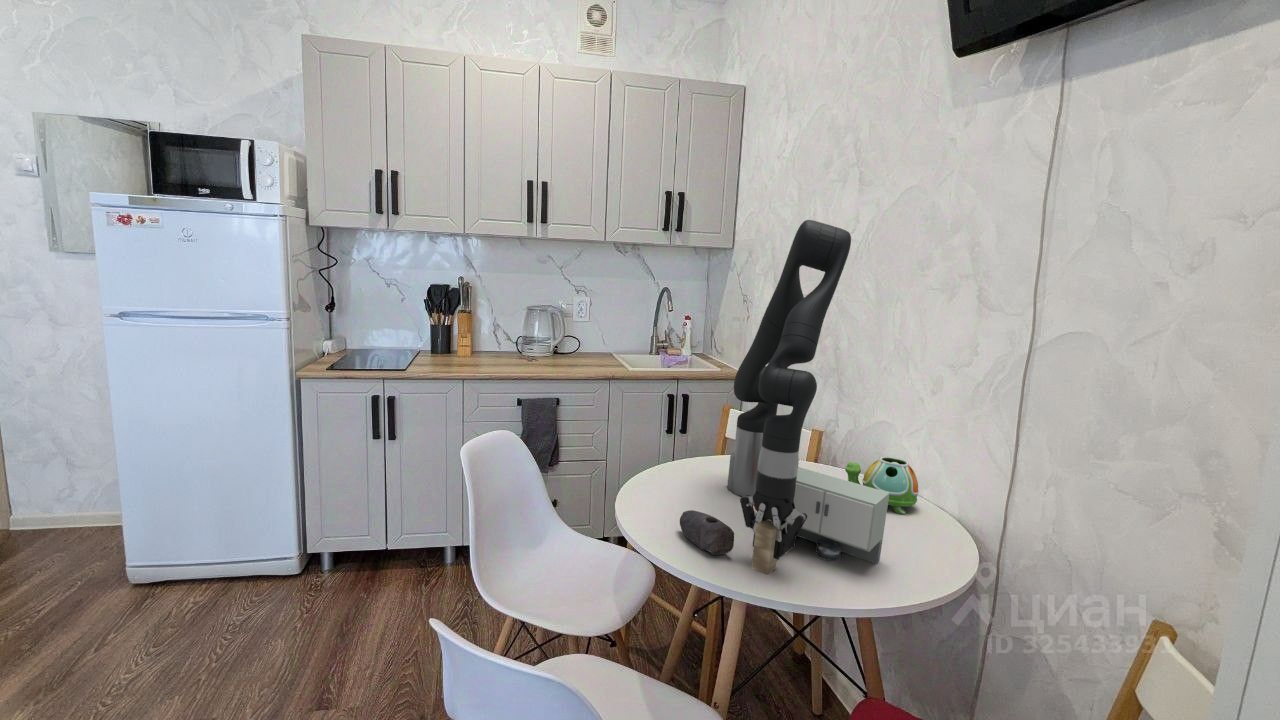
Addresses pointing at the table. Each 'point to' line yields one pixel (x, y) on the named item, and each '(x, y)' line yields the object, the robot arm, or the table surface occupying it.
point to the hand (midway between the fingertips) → (767, 553)
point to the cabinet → (841, 513)
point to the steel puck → (828, 549)
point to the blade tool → (766, 547)
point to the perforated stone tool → (707, 532)
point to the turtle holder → (889, 480)
